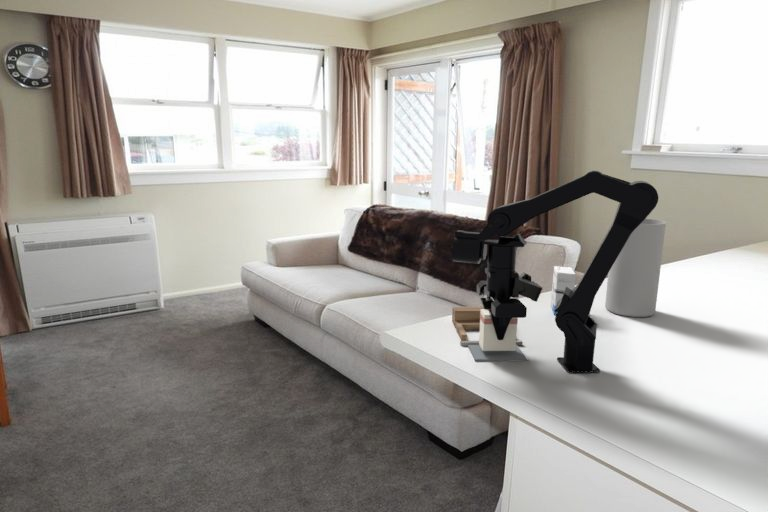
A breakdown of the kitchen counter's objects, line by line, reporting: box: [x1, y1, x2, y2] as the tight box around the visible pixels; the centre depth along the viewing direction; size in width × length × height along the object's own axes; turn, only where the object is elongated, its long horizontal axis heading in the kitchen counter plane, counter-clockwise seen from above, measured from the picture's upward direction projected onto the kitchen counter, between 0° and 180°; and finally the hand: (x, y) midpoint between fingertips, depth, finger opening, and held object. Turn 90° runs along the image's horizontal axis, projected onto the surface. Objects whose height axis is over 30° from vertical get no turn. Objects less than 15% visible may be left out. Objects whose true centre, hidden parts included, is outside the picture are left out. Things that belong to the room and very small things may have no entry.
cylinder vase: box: [604, 218, 667, 318], centre depth 138 cm, size 12×12×25 cm
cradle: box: [451, 305, 524, 347], centre depth 123 cm, size 16×14×4 cm
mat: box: [467, 345, 528, 362], centre depth 111 cm, size 8×11×1 cm
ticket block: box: [478, 309, 519, 351], centre depth 110 cm, size 4×7×8 cm, turn 92°
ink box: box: [550, 265, 577, 316], centre depth 139 cm, size 8×5×12 cm, turn 168°
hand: (497, 336), depth 110 cm, fingers closed on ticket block, 4 cm apart
